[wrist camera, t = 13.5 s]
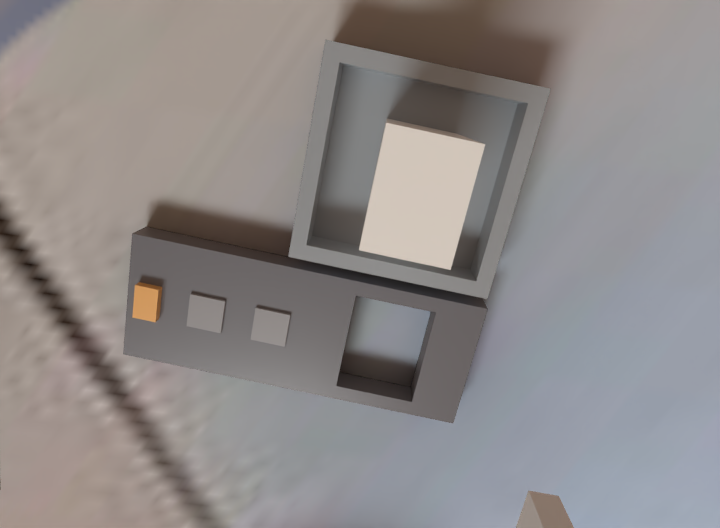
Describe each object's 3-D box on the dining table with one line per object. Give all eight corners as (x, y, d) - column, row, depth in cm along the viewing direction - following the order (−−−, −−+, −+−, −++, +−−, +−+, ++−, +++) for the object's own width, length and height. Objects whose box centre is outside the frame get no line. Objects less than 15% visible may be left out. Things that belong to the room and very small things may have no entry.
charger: (366, 210, 34) (358, 250, 24) (386, 118, 32) (386, 122, 23) (432, 224, 34) (450, 270, 25) (456, 133, 32) (485, 144, 23)
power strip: (136, 341, 38) (119, 358, 36) (145, 226, 36) (127, 235, 33) (449, 407, 39) (454, 428, 36) (482, 298, 36) (489, 312, 33)
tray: (296, 244, 35) (288, 256, 33) (331, 45, 32) (325, 39, 29) (479, 283, 36) (487, 299, 33) (536, 90, 32) (551, 88, 29)
